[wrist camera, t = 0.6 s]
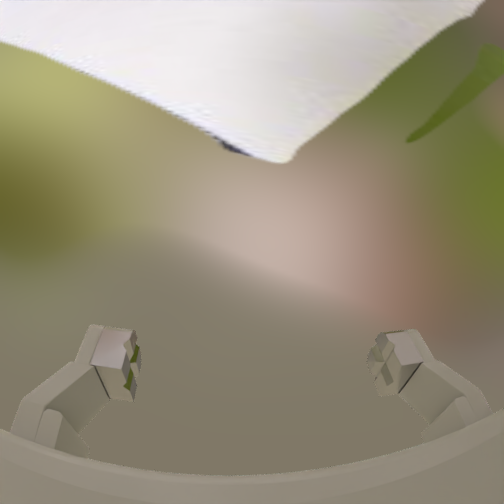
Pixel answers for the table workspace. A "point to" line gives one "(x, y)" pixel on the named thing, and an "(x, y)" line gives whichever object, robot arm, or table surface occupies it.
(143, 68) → the table surface
